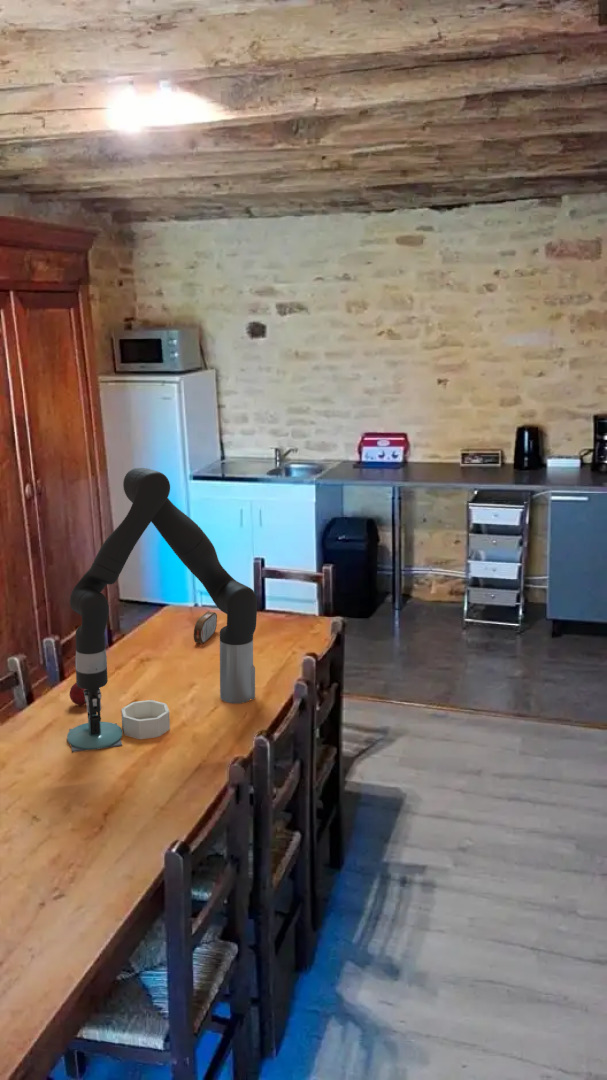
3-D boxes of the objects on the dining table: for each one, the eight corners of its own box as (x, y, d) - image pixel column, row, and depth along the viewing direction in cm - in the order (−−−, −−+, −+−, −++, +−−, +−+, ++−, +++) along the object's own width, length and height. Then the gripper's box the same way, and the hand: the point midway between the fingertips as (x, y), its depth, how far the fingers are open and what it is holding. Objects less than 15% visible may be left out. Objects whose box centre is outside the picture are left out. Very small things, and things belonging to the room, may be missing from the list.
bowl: (164, 715, 236) (164, 698, 235) (171, 735, 225) (171, 717, 224) (120, 721, 233) (119, 703, 231) (125, 741, 222) (125, 722, 221)
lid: (119, 721, 231) (118, 702, 230) (125, 745, 219) (124, 725, 218) (65, 728, 227) (64, 708, 226) (68, 752, 215) (67, 732, 214)
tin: (210, 630, 299) (209, 607, 297) (218, 631, 298) (218, 608, 296) (192, 646, 285) (192, 621, 283) (201, 647, 284) (201, 622, 282)
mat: (116, 724, 231) (116, 723, 230) (122, 745, 220) (122, 744, 219) (69, 730, 227) (69, 729, 227) (72, 752, 216) (72, 750, 216)
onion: (86, 711, 238) (85, 684, 236) (66, 709, 239) (65, 682, 237) (95, 702, 243) (94, 675, 241) (76, 700, 244) (74, 673, 242)
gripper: (109, 675, 213) (111, 737, 217) (104, 654, 226) (106, 712, 230) (77, 678, 211) (80, 741, 215) (73, 657, 224) (76, 716, 228)
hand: (93, 726), depth 222 cm, fingers open, 8 cm apart
